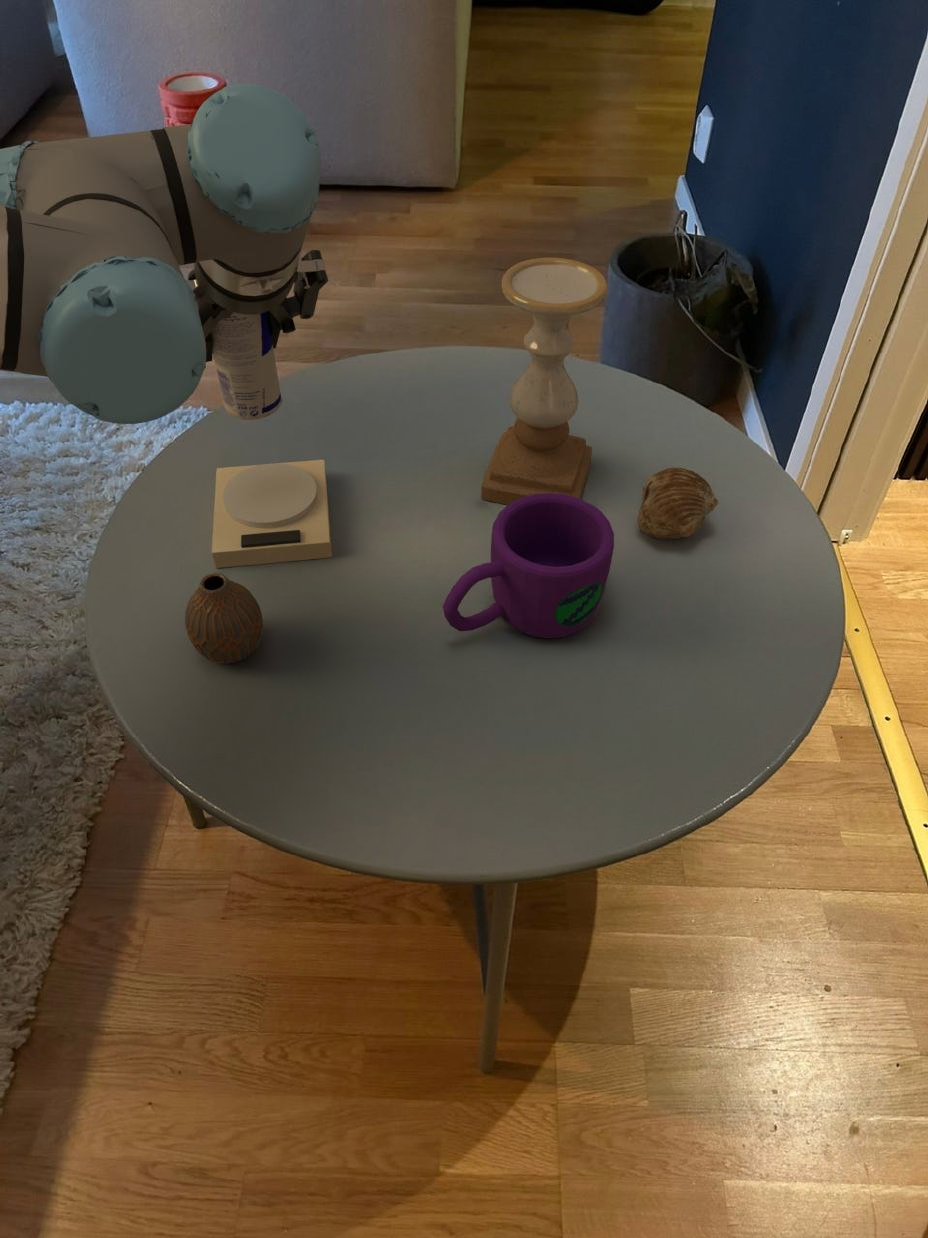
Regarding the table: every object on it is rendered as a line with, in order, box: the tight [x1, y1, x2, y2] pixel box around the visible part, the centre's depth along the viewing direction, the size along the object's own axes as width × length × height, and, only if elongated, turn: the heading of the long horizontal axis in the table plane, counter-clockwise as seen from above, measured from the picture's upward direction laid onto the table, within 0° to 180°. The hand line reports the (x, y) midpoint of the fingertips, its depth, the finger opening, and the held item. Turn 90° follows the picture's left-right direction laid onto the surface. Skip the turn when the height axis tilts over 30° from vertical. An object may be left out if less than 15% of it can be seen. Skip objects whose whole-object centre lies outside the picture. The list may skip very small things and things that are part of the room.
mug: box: [442, 493, 615, 639], centre depth 86 cm, size 17×11×10 cm, turn 121°
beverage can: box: [210, 312, 283, 421], centre depth 84 cm, size 6×6×15 cm
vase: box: [184, 572, 264, 664], centre depth 83 cm, size 7×7×9 cm
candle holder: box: [480, 257, 608, 506], centre depth 96 cm, size 11×11×24 cm
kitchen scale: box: [211, 459, 333, 569], centre depth 98 cm, size 12×14×3 cm
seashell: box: [637, 467, 719, 540], centre depth 96 cm, size 9×7×8 cm
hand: (236, 341), depth 88 cm, fingers closed on beverage can, 6 cm apart
